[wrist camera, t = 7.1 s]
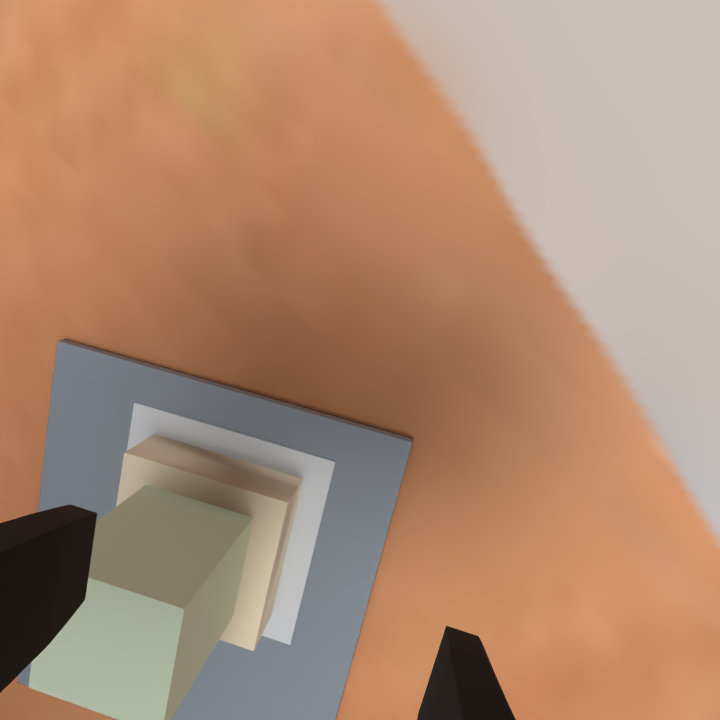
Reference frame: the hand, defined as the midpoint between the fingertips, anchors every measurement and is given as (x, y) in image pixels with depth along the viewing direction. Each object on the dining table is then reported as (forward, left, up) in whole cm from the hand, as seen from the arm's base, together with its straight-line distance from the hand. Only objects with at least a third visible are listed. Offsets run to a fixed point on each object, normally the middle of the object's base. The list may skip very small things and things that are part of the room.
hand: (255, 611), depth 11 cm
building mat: (-5, -7, -10) cm, 13 cm away
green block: (-4, -5, -8) cm, 10 cm away
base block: (-4, -5, -10) cm, 11 cm away
